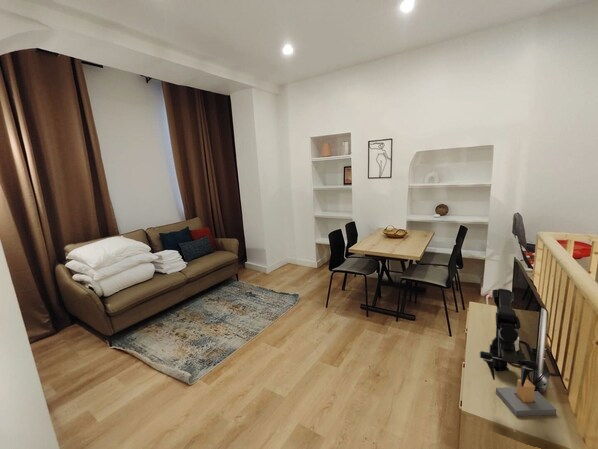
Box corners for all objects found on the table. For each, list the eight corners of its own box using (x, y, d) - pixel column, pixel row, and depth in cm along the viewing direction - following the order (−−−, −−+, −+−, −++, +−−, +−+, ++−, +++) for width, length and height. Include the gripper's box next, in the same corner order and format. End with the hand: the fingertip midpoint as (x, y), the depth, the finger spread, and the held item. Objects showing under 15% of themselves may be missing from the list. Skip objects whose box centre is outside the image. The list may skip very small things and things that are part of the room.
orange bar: (515, 399, 120) (517, 379, 118) (525, 398, 120) (527, 379, 118) (522, 407, 116) (525, 386, 114) (532, 406, 116) (534, 386, 114)
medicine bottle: (502, 344, 155) (503, 324, 153) (518, 348, 151) (519, 328, 148) (501, 350, 150) (502, 331, 147) (517, 355, 145) (519, 335, 143)
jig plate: (495, 392, 124) (496, 387, 123) (532, 391, 123) (532, 386, 123) (515, 416, 112) (515, 410, 112) (555, 414, 111) (556, 409, 111)
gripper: (482, 337, 113) (482, 378, 108) (540, 348, 104) (544, 393, 100) (479, 337, 122) (479, 375, 118) (532, 347, 113) (535, 389, 109)
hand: (507, 383), depth 111 cm, fingers open, 9 cm apart
